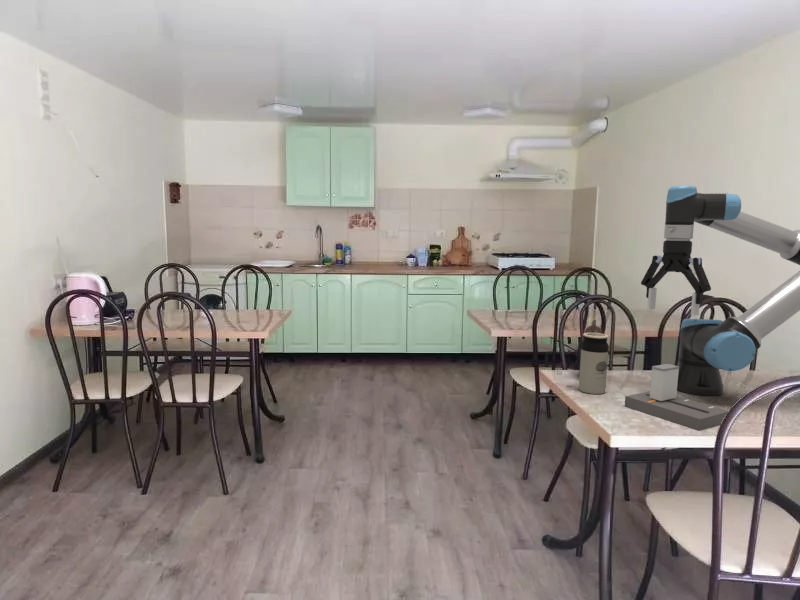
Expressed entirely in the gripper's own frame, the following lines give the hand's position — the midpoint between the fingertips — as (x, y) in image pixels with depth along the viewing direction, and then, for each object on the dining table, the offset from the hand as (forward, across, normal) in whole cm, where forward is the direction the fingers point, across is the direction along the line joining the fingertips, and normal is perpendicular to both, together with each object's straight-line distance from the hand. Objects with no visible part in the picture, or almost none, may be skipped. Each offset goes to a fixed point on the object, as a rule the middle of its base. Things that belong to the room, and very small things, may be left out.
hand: (672, 312), depth 163 cm
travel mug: (+27, -17, -13) cm, 34 cm away
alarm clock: (+27, -28, 0) cm, 39 cm away
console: (+27, +9, -10) cm, 30 cm away
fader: (+23, +6, -10) cm, 26 cm away
